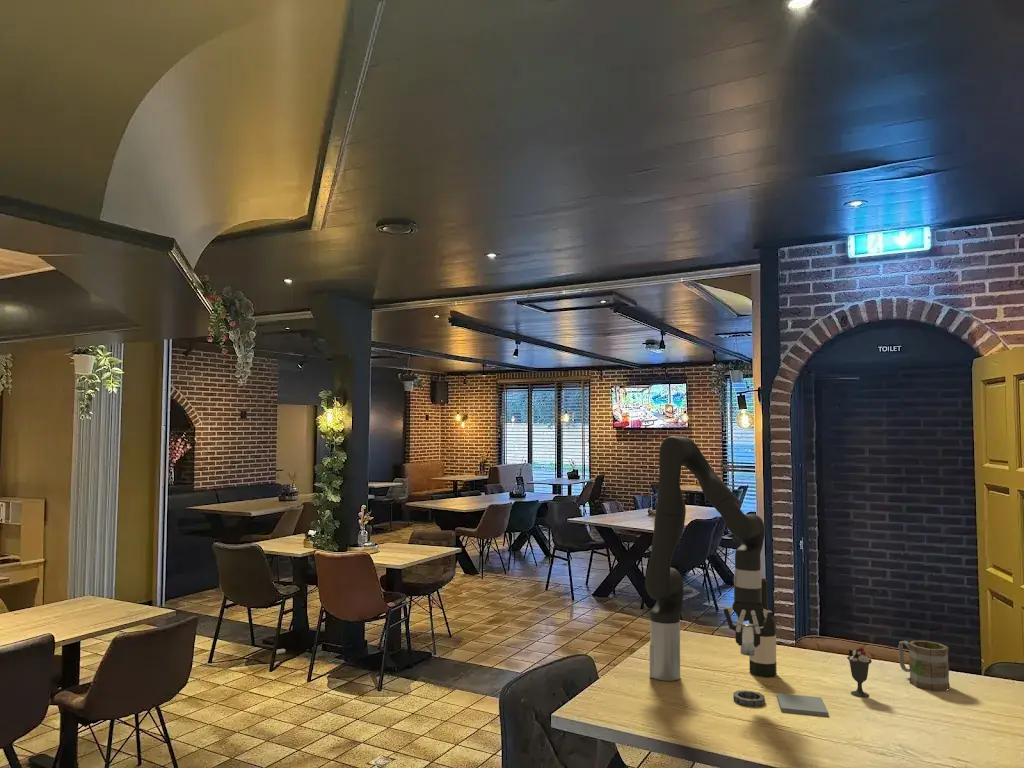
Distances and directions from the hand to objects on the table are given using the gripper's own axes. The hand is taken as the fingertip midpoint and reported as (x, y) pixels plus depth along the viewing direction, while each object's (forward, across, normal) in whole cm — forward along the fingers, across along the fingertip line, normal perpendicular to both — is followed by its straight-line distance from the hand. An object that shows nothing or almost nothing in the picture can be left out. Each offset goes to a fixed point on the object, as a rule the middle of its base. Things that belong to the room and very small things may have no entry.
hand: (747, 645), depth 205 cm
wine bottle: (+16, +6, +27) cm, 32 cm away
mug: (+15, +53, +32) cm, 64 cm away
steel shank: (+2, 0, 0) cm, 2 cm away
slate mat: (+15, +14, 0) cm, 21 cm away
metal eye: (+15, 0, 0) cm, 15 cm away
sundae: (+15, +32, +15) cm, 39 cm away
